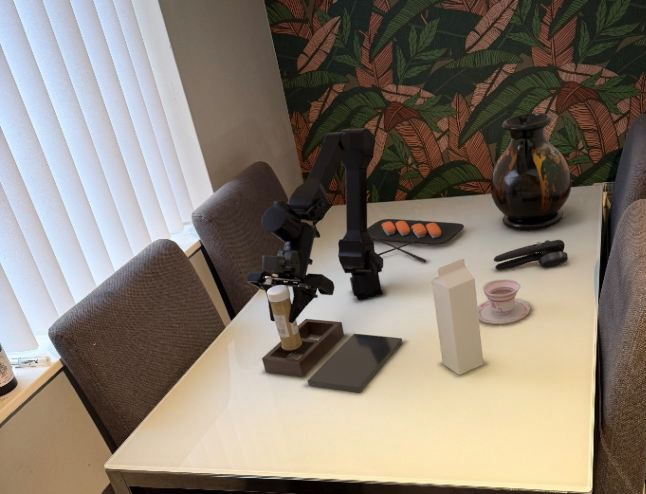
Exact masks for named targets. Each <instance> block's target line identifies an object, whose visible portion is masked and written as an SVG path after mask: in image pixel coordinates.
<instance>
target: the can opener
mask: <svg viewBox="0 0 646 494" xmlns="http://www.w3.org/2000/svg"><path fill="white" fill-rule="evenodd" d="M565 246H566V244H565V242H564V240H562V239H554V240H549V239H546V240H544V241H543V242H541V241H537V242H536V243H535V244H534V243H533V244H530V245H526V246H521V247H519V248H518V247H517V248H516V249H512V250H509V251H506V252H503V253H500V254H498V255H496V256H495V257H494V258H493V262H495V263H497V264H496V265H495V267H494V268H495V269H496V270H497V271H503V270H509V269H514V268H516V267H517V268H518V267H520V266H523V265H526V264H530V263H533V262H537V263H538V264H539V265H540V266H541V267H543V268H553V267H557V266H561V265H562V264H564V263H566V262H567V261H568V260H569V257H568V253H567V252H566V251H565Z"/></svg>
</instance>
